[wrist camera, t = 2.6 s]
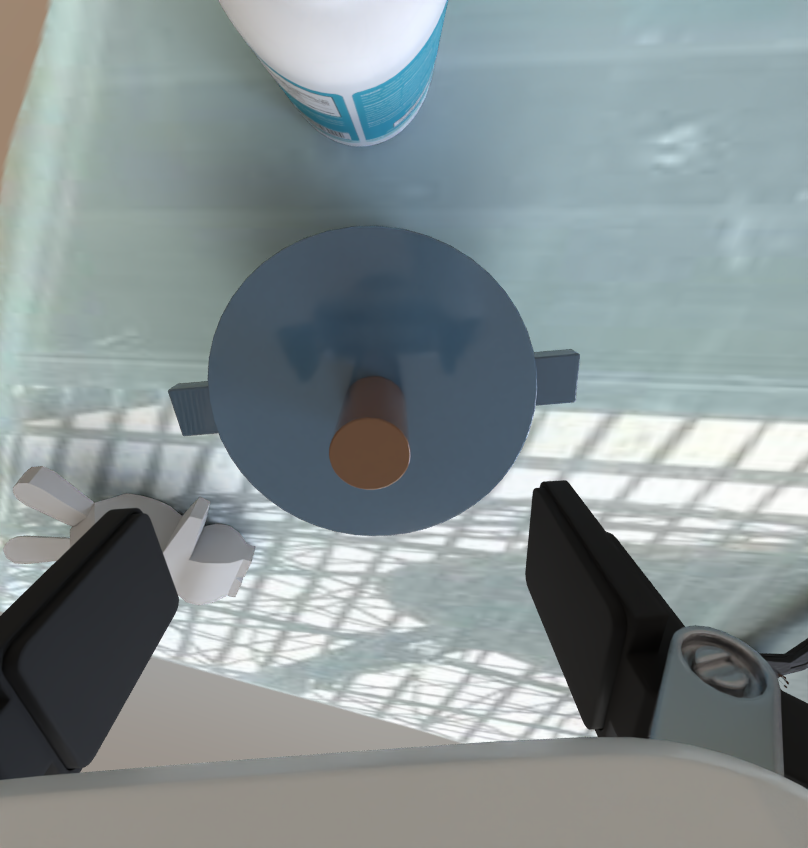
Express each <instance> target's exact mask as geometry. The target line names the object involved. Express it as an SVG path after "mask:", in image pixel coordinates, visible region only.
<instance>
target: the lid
mask: <svg viewBox="0 0 808 848" xmlns="http://www.w3.org/2000/svg"><path fill="white" fill-rule="evenodd" d="M208 390H209V401H210V405H211V410H212V414H213V419H214V422H215V425H216V427H217V430H218V433H219V435H220V438H221V440H222V442H223V444H224V446H225V448H226V450H227V452H228V454H229V455H230V457H231V459H232V460H233V461H234V463H235V464H236V466H237V467H238V469H239V470H240V471H241V473H242V474H243V475H244V476H245V477H246V478H247V479H248V481H249V482H250V483H251V484H252V485H253V486H254V487H255V488H256V489H257V490H258V491H259V492H261V493H262V494H263V495H264V496H265V497H266V498H267V499H269V500H270V501H271V502H273V503H274V504H276V505H277V506H279V507H280V508H281V509H283V510H284V511H286V512H288V513H290V514H292V515H294V516H295V517H297V518H299V519H301V520H304V521H306V522H308V523H311V524H313V525H316V526H318V527H322V528H325V529H329V530H332V531H336V532H341V533H347V534H352V535H363V536H391V535H398V534H405V533H411V532H415V531H419V530H423V529H427V528H429V527H432V526H435V525H438V524H440V523H443V522H445V521H447V520H449V519H451V518H453V517H455V516H457V515H459V514H461V513H462V512H464V511H466V510H467V509H469V508H470V507H472V506H473V505H475V504H476V503H477V502H478V501H480V500H481V499H482V498H483V497H485V496H486V495H487V494H488V493H489V492H490V491H491V490H492V489H493V488H494V487H495V486H496V485H497V484H498V483H499V482H500V481H501V480H502V479H503V477H504V476H505V475H506V473H507V472H508V471H509V469H510V468H511V467H512V465H513V464H514V462H515V460H516V459H517V457H518V455H519V453H520V451H521V450H522V448H523V445H524V443H525V441H526V438H527V436H528V433H529V431H530V427H531V423H532V420H533V416H534V412H535V405H536V396H537V370H536V363H535V357H534V351H533V347H532V344H531V341H530V338H529V335H528V331H527V329H526V327H525V325H524V322H523V320H522V318H521V316H520V314H519V312H518V310H517V308H516V307H515V305H514V304H513V302H512V301H511V299H510V298H509V296H508V295H507V293H506V292H505V291H504V289H503V288H502V287H501V286H500V285H499V284H498V283H497V282H496V280H495V279H494V278H493V277H492V276H491V275H490V274H489V273H488V272H487V271H486V270H484V269H483V268H482V267H481V266H480V265H478V264H477V263H476V262H475V261H474V260H472V259H471V258H470V257H468V256H466V255H465V254H463V253H462V252H460V251H458V250H457V249H455V248H454V247H452V246H450V245H448V244H446V243H443V242H441V241H439V240H436V239H434V238H432V237H430V236H427V235H423V234H420V233H416V232H412V231H409V230H405V229H399V228H391V227H383V226H353V227H346V228H340V229H334V230H328V231H325V232H322V233H319V234H316V235H313V236H310V237H307V238H304V239H302V240H300V241H298V242H296V243H294V244H292V245H290V246H288V247H286V248H284V249H282V250H281V251H279V252H278V253H276V254H275V255H273V256H272V257H271V258H269V259H268V260H266V261H265V262H263V263H262V264H261V265H260V266H259V267H258V268H257V269H256V270H255V271H254V272H253V273H252V274H251V275H250V276H249V277H248V278H246V280H245V281H244V282H243V283H242V285H241V286H240V287H239V289H238V290H237V291H236V292H235V294H234V295H233V296H232V298H231V300H230V301H229V303H228V305H227V307H226V309H225V310H224V312H223V314H222V316H221V318H220V321H219V324H218V326H217V329H216V332H215V334H214V337H213V341H212V346H211V351H210V356H209V366H208Z"/></svg>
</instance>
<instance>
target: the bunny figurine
mask: <svg viewBox="0 0 808 848" xmlns="http://www.w3.org/2000/svg"><path fill="white" fill-rule="evenodd" d="M13 493H14V495H15V497H16V498H17V499H18V500H19V501H21V502H22V503H24V504H25V505H27V506H29V507H31V508H33V509H35V510H38V511H40V512H42V513H44V514H46V515H48V516H50V517H52V518H55V519H57V520H59V521H61V522H63V523H65V524H67V525H70V526H72V527H71V529H70V538H66V537H45V536H18V537H15V538H13V539H11V540H9V541H8V542H7V543H6V544H5V546H4V548H3V551H4V553H5V556H6V558H7V559H9V560H11V561H12V562H14V563H17V564H31V563H40V562H50V561H57V560H58V559H59V558H60V557H61V556H62V555H63V554H64V553H65V552H66V551H67V550H68V549H70V548H71V547H72V546H73V545H74V544H75V543H76V542H77V541H78V540H79V539H80V538H81V537H82V536H83V535H84V534H85V533H86V532H87V531H88V530H89V529H90V528H91V527H92V526H93V525H94V524H95V523H96V522H97V521H98V520H99V519H100V518H101V517H102V516H103V515H104V514H105V513H106V512H108V511H109V510H112V509H125V508H139V509H140V510H141V511H142V512H143V513H145V514H147V515H149V517H150V519H151V522H152V524H153V527H154V530H155V533H156V535H157V538H158V541H159V544H160V547H161V549H162V552H163V555H164V558H165V560H166V563H167V566H168V569H169V571H170V574H171V577H172V580H173V582H174V585H175V588H176V591H177V594H178V595H179V596H180V597H181V598H182V599H183V600H184V601H185V602H187V603H191V604H195V605H202V604H208V603H213V602H215V601H217V600H219V599H221V598H223V597H225V596H231V597H235V596H236V594H237V592H238V590H239V588H240V586H241V583H242V580H243V577H245V575H246V573H247V570H248V568H249V566H250V564H251V562H252V558H253V554H254V550H255V546H252V545H248V544H247V543H246V541H245V540H244V539H243V537H242V536H241V534H240V533H239V532H238V531H236V530H235V529H234V528H232V527H231V526H229V525H223V524H213V525H208V526H204V525H205V522H206V518H207V514H208V510H209V506H210V501H208V500H206V499H204V498H202V497H199V498H198V499H197V500H196V501H195V502H194V503H193V504H192V506H191V507H190V508H189V509H188V510H187V511H186V512H185V513H184V514H183V516H181V515H180V514H179V513H178V512H177V511H176V510H174V509H173V508H172V507H171V506H169V505H167V504H165V503H163V502H160V501H158V500H155V499H152V498H148V497H145V496H141V495H135V494H128V493H126V494H122V495H119V496H116V497H112V498H109V499H106V500H102V501H99V502H95V503H94V502H93V501H92V500H91V499H89V498H88V497H87V496H85V495H84V494H83V493H82V492H80V491H79V490H78V489H77V488H75V487H74V486H73V485H71V484H70V483H69V482H68V481H66V480H65V479H64V478H63V477H61V476H60V475H59V474H57V473H56V472H55V471H53V470H50V469H48V468H46V467H43V466H38V467H31V468H30V469H29V470H27V471H26V472H25V473H24V474H23V476H22V477H21V478H20V479H19V481H18V482H17V483H16V485H15V486H14V487H13Z"/></svg>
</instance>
